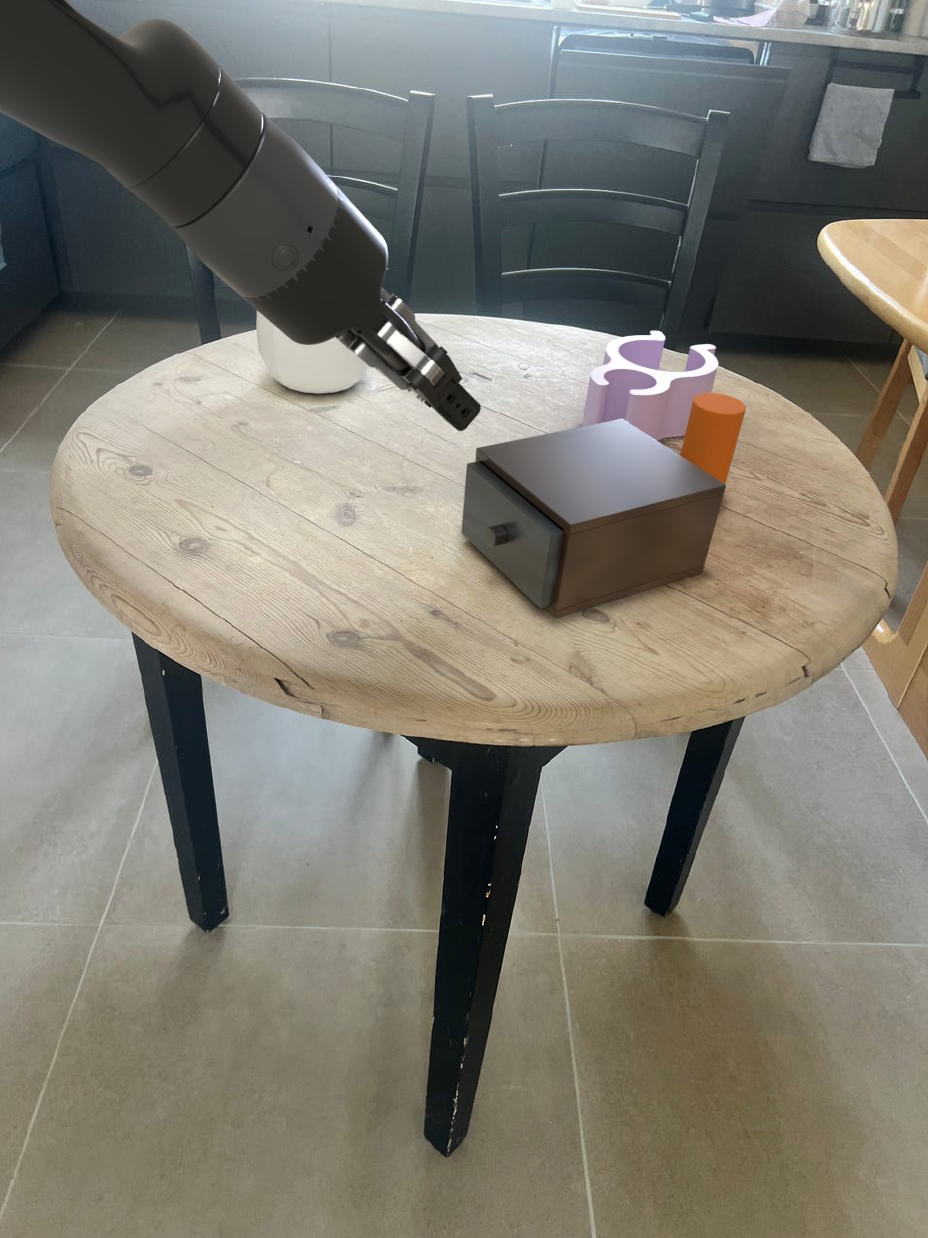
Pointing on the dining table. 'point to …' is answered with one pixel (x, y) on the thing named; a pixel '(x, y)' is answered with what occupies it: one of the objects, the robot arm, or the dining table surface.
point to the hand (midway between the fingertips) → (466, 416)
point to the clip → (648, 386)
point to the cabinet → (613, 508)
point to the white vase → (307, 361)
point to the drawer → (512, 533)
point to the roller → (713, 433)
